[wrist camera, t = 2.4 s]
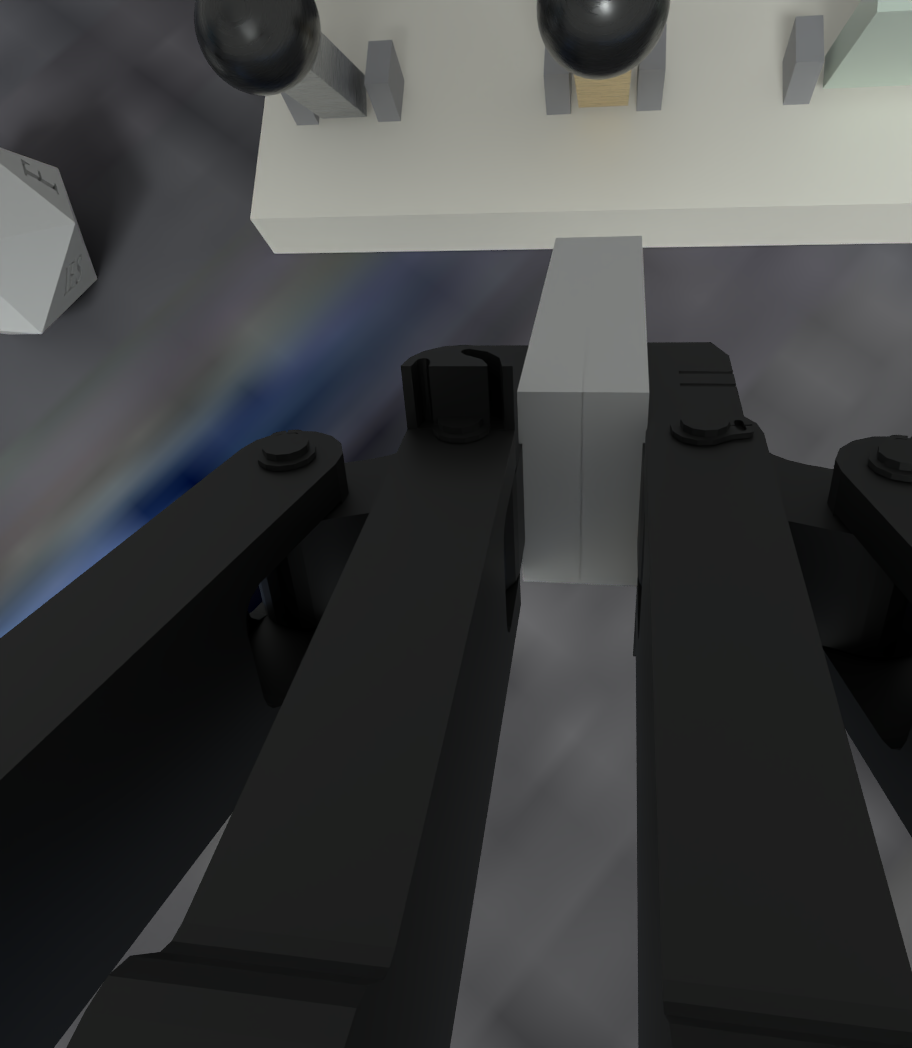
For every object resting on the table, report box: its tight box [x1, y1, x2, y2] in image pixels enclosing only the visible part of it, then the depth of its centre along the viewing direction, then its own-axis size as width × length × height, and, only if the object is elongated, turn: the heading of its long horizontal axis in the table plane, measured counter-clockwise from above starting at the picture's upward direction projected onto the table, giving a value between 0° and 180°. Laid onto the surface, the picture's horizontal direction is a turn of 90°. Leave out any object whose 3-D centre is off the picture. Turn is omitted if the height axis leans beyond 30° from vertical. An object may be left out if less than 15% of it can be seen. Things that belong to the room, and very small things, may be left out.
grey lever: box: [194, 0, 367, 119], centre depth 32 cm, size 4×4×12 cm
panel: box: [250, 0, 912, 254], centre depth 37 cm, size 11×30×5 cm, turn 86°
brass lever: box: [536, 0, 670, 108], centre depth 30 cm, size 4×4×12 cm
